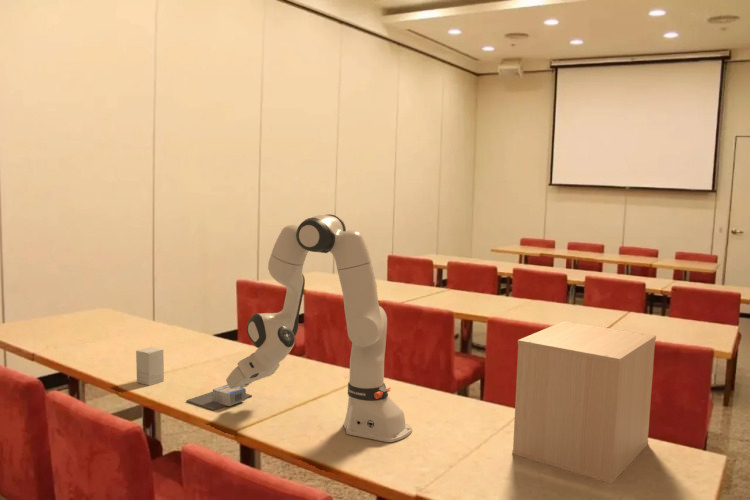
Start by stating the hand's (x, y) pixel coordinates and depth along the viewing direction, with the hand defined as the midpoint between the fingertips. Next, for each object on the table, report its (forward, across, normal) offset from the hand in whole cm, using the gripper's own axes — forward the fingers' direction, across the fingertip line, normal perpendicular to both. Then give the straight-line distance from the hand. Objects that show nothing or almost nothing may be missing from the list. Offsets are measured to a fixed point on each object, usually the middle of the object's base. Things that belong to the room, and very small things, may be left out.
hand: (242, 385), depth 224 cm
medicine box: (+4, 0, +2) cm, 5 cm away
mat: (+13, 0, -3) cm, 13 cm away
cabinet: (-68, -38, +82) cm, 113 cm away
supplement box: (+38, +4, -28) cm, 47 cm away
